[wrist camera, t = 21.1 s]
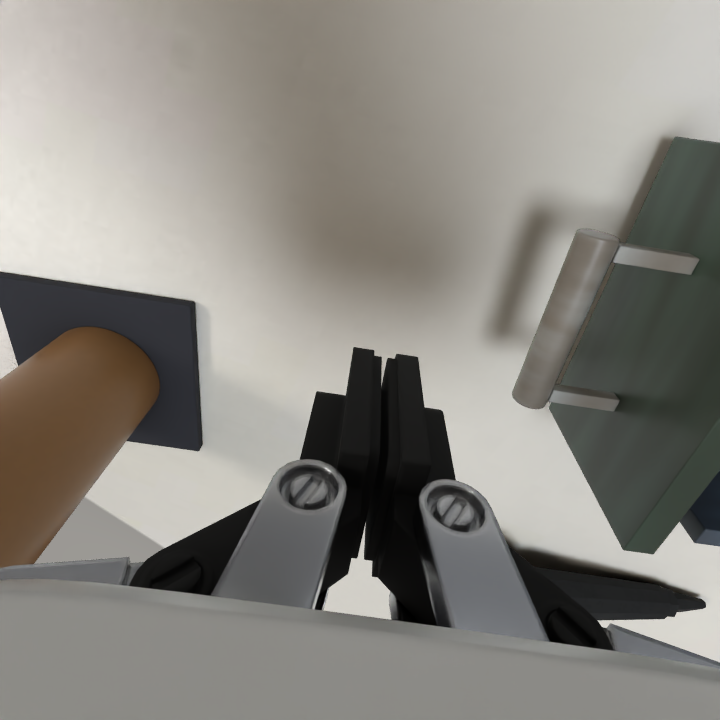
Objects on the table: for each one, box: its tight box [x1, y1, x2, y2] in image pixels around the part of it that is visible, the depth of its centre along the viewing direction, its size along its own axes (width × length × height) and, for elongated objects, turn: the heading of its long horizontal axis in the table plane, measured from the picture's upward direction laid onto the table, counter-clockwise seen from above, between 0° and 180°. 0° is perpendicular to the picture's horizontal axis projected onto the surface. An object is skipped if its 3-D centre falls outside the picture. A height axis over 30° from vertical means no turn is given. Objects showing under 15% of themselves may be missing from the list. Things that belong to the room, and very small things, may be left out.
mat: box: [0, 272, 202, 451], centre depth 25 cm, size 10×10×1 cm
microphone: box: [535, 567, 706, 620], centre depth 31 cm, size 6×6×20 cm
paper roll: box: [0, 327, 160, 568], centre depth 19 cm, size 6×6×14 cm
